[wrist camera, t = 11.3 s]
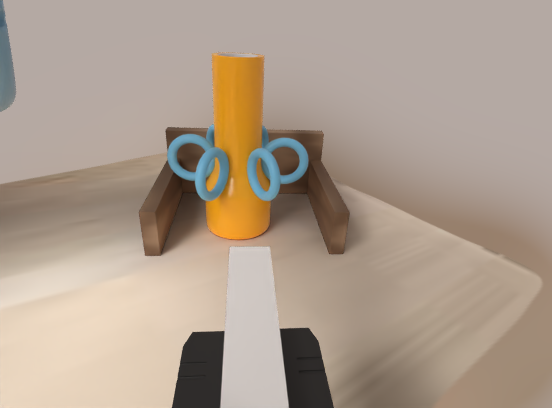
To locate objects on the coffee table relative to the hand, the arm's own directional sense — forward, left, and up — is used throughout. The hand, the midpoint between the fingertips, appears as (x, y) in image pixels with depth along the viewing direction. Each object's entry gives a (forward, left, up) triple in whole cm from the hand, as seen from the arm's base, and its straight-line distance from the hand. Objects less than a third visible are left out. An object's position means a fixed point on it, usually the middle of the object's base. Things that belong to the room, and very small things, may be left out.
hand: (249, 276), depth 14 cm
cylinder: (-12, +14, -9) cm, 21 cm away
